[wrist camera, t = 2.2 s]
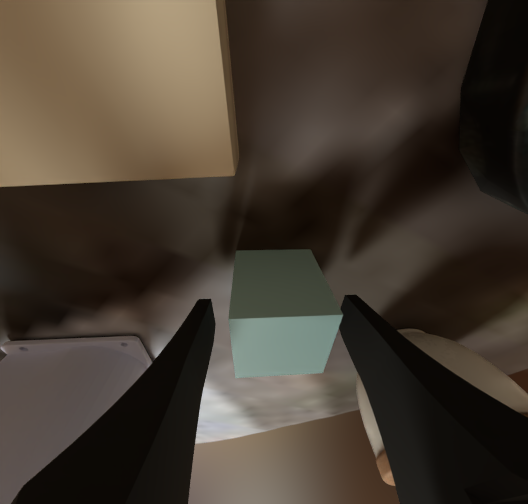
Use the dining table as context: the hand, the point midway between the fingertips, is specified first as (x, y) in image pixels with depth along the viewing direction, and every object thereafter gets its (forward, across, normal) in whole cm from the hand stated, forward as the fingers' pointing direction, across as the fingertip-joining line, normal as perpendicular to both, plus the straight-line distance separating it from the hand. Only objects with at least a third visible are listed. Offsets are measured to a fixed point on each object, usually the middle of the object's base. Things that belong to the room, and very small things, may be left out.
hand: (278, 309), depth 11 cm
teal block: (+3, 0, 0) cm, 3 cm away
